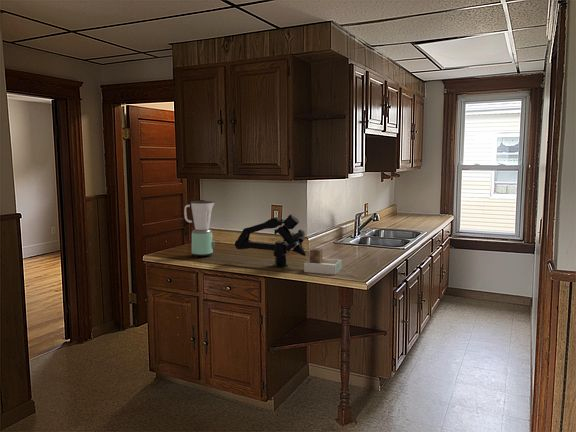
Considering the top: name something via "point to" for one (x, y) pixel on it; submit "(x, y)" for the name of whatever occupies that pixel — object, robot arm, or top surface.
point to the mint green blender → (201, 227)
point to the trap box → (324, 266)
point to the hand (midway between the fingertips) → (305, 255)
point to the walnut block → (315, 255)
